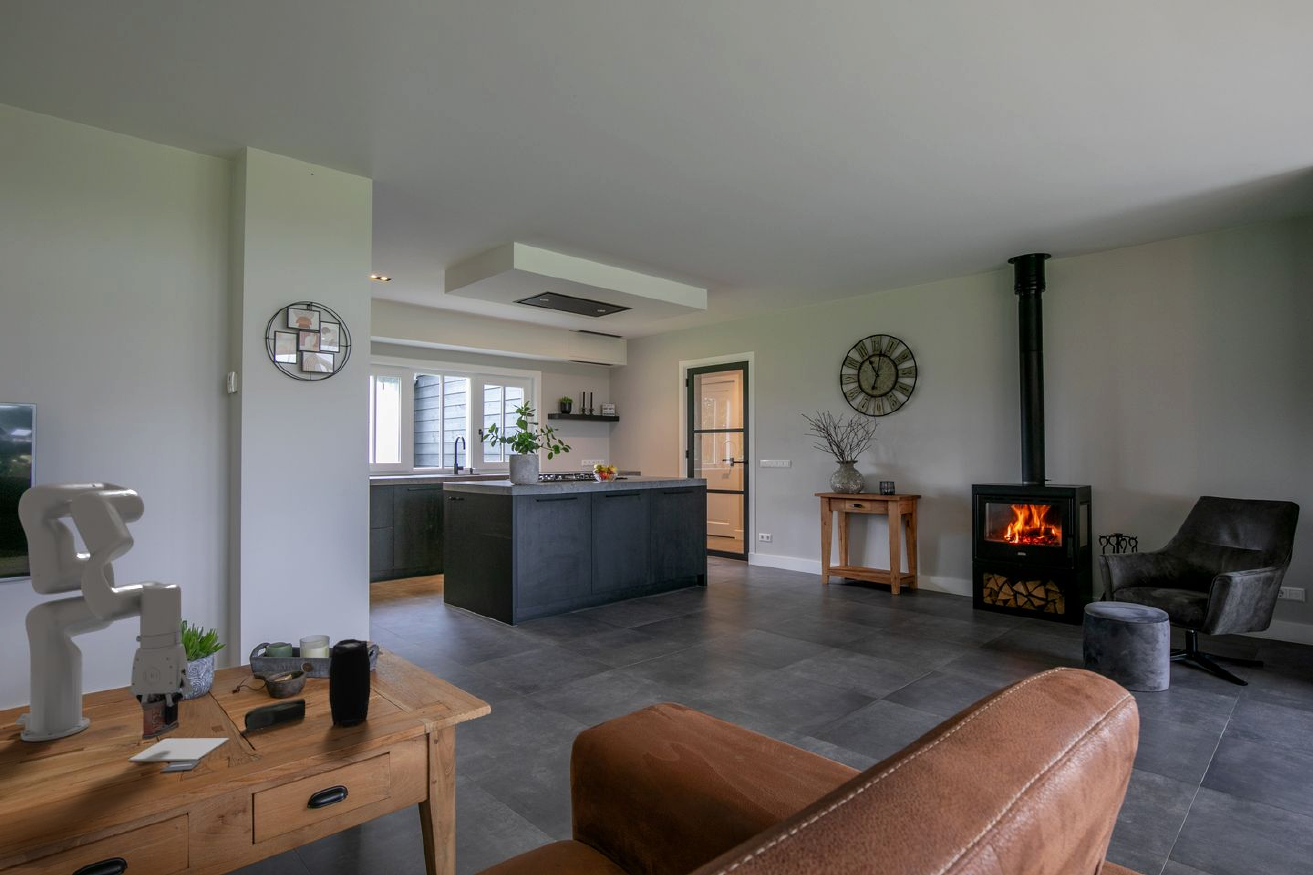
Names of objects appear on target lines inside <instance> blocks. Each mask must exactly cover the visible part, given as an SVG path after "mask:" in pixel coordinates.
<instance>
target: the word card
mask: <svg viewBox="0 0 1313 875" xmlns="http://www.w3.org/2000/svg"><path fill="white" fill-rule="evenodd" d="M200 763H202V760H198V761H174V762H170V763H168V765H166V766H165V767H164V768H162V769H161V770H160V772H159V773H160V774H162V773H173V772H174V771H176V772H183V771H182V770H189V771H192V770H191V769H193V768H194V767H195V766H196V767H197V766H198V765H199V764H200ZM197 764H198V765H197ZM196 767H195V768H196ZM195 768H194V769H195ZM194 769H193V770H194ZM174 773H175V772H174Z"/></svg>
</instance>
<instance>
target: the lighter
mask: <svg viewBox="0 0 1313 875" xmlns="http://www.w3.org/2000/svg"><path fill="white" fill-rule="evenodd" d="M148 698H149V700H150V701H147V702H145V703H143V704H142V706H141V707H142V709H143V712H142V714H143V715H142V716H143V718H142V720H143V723H142V724H143V726H142V728H143V729H142V730H143V733H142V735H141V736H142V737H141V738H142V739H141V740H145V741H146V740H152V739H155V738H158V737H161V736H163V735H165V734H167V733H168V734H169V733H170V732H173V731H174V730H176V729H178V728H179V727H180V722H179V716H178V717H177V720H176V721H175V722H173V723H171V724H169V725H165V707H166V706H168V705H167V700H166V694H151V693H150V694H148Z"/></svg>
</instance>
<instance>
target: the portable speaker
mask: <svg viewBox="0 0 1313 875" xmlns="http://www.w3.org/2000/svg"><path fill="white" fill-rule="evenodd" d="M330 657H331V659H330V662H329V663H330V664H329V669H328V671H329V677H328V678H329V682H328V683H329V685H328V686H329V688H328V689H329V694H328V695H329V699H328V700H329V707H330V714H331V721H332V724H333V725H335V724H338V725H339V726H341V727H342V729H344V728H346V729H347V728H352V727H355V726H358V725H359V724H360V723H361V721H363V720H367V718H368V713H369V704H370V698H371V697H370V696H371V661H370V660H371V659H370V655H369V649H368V641H367V640H361V639H355V638H350V639H349V638H348V639H342V640H339V641H338V642H337V643H336V644H335V645H333V646H332V652H331V656H330Z"/></svg>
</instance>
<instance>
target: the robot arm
mask: <svg viewBox="0 0 1313 875" xmlns="http://www.w3.org/2000/svg"><path fill="white" fill-rule="evenodd" d="M144 512H145V504H144V501H143V499H142V497H141V495H139V494H138V493H137V492H136V491H135V490H133V489H132V488H128V487H126V486H125V487H124V486H122V485H117V484H114V483H110V482H105V481H80V482H79V481H78V482H53V483H44V484H38V485H35V486H31V487H30V488H28V489H26V490H25V491H24V492H23V493H22V495H21V497H20V499H19V503H18V518H19V520H20V523H21V526H22V528H23V531H24V533H25V536H26V540H27V545H28V546H27V548H28V560H29V561H28V562H29V573H30V581H31V587H32V590H33V591H34V592H35V593H36V594H38V595H43V596H45V595H46V596H48V595H49V596H51V595H59V594H65V593H70V592H77V591H78V592H79V591H81V594H82V595H78V596H77V595H76V596H73V597H72V596H69V597H65V598H64V597H63V598H59V599H54V600H50V601H49V600H48V601H46V602H42V603H39V604H37V605H36V606H34V607H32V608H31V609H30V610H29V611H28V613H27V614H26V615H25V623H24V624H25V625H24V626H25V630H26V634H27V638H28V643H29V654H30V660H29V661H30V663H29V664H30V668H29V669H30V670H29V671H30V682H29V685H30V686H29V688H30V690H29V693H30V694H29V712H28V713H22V714H21V715H20V717H19V718H18V719H16V720H15V724H16V725H17V726H19V725H21V726H22V725H25V727H24V730H23V731H21V733H20V739H21V740H22V741H25V742H42V741H50V740H57V739H61V738H64V737H67V736H72V735H74V734H76V733H79V732H80V733H81V731H84V730H85V729H87V728H88V727H89V726H90V724H91V720H90V718H89V717H85V716H83V653H82V650H81V649H80V648H79V646H78V645H76V643H75V642H74V641H73V640H72V638H73V637H77V636H80V635H81V636H82V635H85V634H90V633H95V632H99V631H102V630H105V629H107V628H109V627H110V626H112V624H113V623H114V622H116V621H121V620H126V619H130V618H131V619H132V618H135V617H139V623H140V624H139V626H140V627H139V628H140V629H139V632H140V634H139V635H137V636H136V638H135V641H136V642H137V643H138V642H140V644H139V646H140V647H138V648H136V650H135V653H134V657H133V662H132V668H131V669H132V670H131V678H130V680H131V681H130V682H131V683H130V686H131V687H130V689H129V690H128V693H129V695H130V696H132V697H134V698H136V699H137V701H139V703H140V706H141V707H142V704H143V703H145V702H147V701H150V700H149V698H148V694H150V693H151V694H166V700H167V705H168V706H166V707H165V725H169V724H171V723H173V722H175V721H176V720H177V717H178V718H179V703H180V702H181V701H182V700H183V698H184V697H186V696H187V695H188V694H190V693H191V692H193V691H194V687H193V685H192V684H191V682H190V681H189V664H188V658H187V657H188V656H187V653H186V652H187V651H186V648H185V644H184V643H182V588H181V586H179V585H178V584H176V583H163V582H160V581H158V580H157V581H156V580H148V581H141V582H133V583H128V584H121V585H116V584H115V573H114V567H113V563H112V562H113V561H115V560H117V559H119V558H121V557H122V556H124V555H126V554H127V553H128V552H129V551H130V550H132V548H133V547H134V544H135V541H134V537H133V536H132V534H131V531H130V530H129V527H128V526H127V524H130V523H135V522H137V521H139V520H140V519H141V518H142V517H143V514H144ZM61 518H71V519H72V521H73V523H74V525H75V527H76V528H77V531H78V533H79V535H80V538H81V540H82V541H83V543H84V546H85V547H86V551H85V550H84V551H78V552H77V550H76V547H75V546H76V545H75V536H74V533H73V532H72V530H71V529H70V528H69V526H68V525H66V524H65V523H64V522H63V521H62V520H60V519H61ZM115 585H116V586H115ZM181 689H182V690H181ZM180 690H181V691H180Z"/></svg>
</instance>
